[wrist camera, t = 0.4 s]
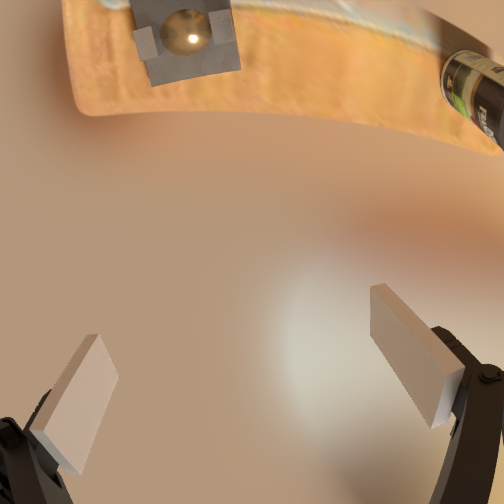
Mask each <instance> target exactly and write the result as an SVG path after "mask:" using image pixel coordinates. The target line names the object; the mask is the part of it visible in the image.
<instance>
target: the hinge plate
mask: <svg viewBox="0 0 504 504" xmlns="http://www.w3.org/2000/svg"><path fill="white" fill-rule="evenodd" d="M130 1H131V6H132V10H133V14H134V18H135V23H136V27H137V30H134V31H133V35H134V39H135V43H136V47H137V51H138V55H139V59H140V61H144V60H145V63H146V67H147V71H148V74H149V78H150V82H151V86H152V87H155V86H159V85H163V84H167V83H171V82H176V81H180V80H185V79H190V78H195V77H200V76H206V75H212V74H217V73H224V72H230V71H237V70H241V64H240V58H239V52H238V46H237V40H236V33H235V27H234V21H233V15H232V9H231V3H230V0H130Z"/></svg>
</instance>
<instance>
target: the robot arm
mask: <svg viewBox="0 0 504 504" xmlns="http://www.w3.org/2000/svg"><path fill="white" fill-rule="evenodd" d="M370 303H371V320H370V335H371V337H372V338H373V340H374V341H375V343H376V344H377V346H378V347H379V349H380V350H381V352H382V353H383V355H384V356H385V358H386V359H387V361H388V363H389V364H390V366H391V367H392V368H393V370H394V372H395V373H396V375H397V376H398V378H399V379H400V381H401V383H402V384H403V386H404V387H405V389H406V390H407V392H408V393H409V395H410V397H411V398H412V400H413V401H414V403H415V405H416V406H417V408H418V409H419V411H420V413H421V414H422V416H423V417H424V419H425V420H426V422H427V424H428V426H429V427H430V429H433V428H435V427H437V426H439V425H442V424H444V423H446V422H448V420H449V417H450V414H451V412H453V413H454V415H455V417H456V421H455V424H454V426H453V428H452V431H451V433H450V435H451V439H450V443H449V446H448V450H447V453H446V457H445V460H444V463H443V466H442V469H441V472H440V476H439V478H438V481H437V484H436V487H435V489H434V492H433V495H432V497H431V500H430V502H429V504H487V503H488V500H489V496H490V492H491V487H492V483H493V478H494V474H495V468H496V463H497V457H498V451H499V444H500V436H501V429H502V436H503V444H504V371H502V370H501V369H500V368H499V367H497V366H495V365H492V364H481V363H480V362H479V361H478V360H477V359H476V358H475V357H474V356H473V355H472V354H471V353H470V351H469V350H468V349H467V348H466V347H465V346H464V345H462V343H461V342H460V341H459V340H458V339H457V340H456V337H455V336H454V335H452V333H450V331H448V330H446V329H444V328H442V327H440V326H437V327H434V328H431V329H430V328H429V327H428V326H427V325H426V324H425V323H424V322H423V321H422V320H421V319H420V318H419V317H418V316H417V315H416V314H415V313H414V312H413V311H412V310H411V309H410V308H409V307H408V306H407V305H406V304H405V303H404V302H403V301H402V300H401V299H400V298H399V297H398V296H397V295H396V294H395V293H394V292H393V291H392V290H391V289H390V288H389V287H388V286H387V285H386V284H385V283H384V284H379V285H375V286H371V287H370ZM118 379H119V375H118V373H117V371H116V369H115V367H114V365H113V363H112V361H111V359H110V357H109V354H108V352H107V350H106V348H105V346H104V343H103V341H102V339H101V337H100V334H92V335H87V336H86V337H85V339H84V340H83V342H82V343H81V345H80V346H79V348H78V349H77V351H76V352H75V354H74V355H73V357H72V358H71V360H70V361H69V363H68V365H67V366H66V368H65V369H64V371H63V373H62V374H61V376H60V377H59V379H58V380H57V382H56V384H55V385H54V387H53V389H50V390H49V391H48V392H47V393H46V394H45V395H44V396H43V397H42V399H41V401H40V402H39V405H38V406H37V407H36V409H35V412H33V414H32V415H31V417H30V419H29V421H28V422H27V424H26V426H25V428H24V429H23V431H22V429H21V428H20V427H19V426H18V424H17V423H16V422H15V420H14V419H13V418H11V417H4V418H1V419H0V504H73V502H72V500H71V498H70V495H69V493H68V491H67V489H66V486H65V484H64V482H63V479H62V477H61V475H60V474H59V472H58V471H57V468H58V466H59V465H60V466H61V467H62V469H63V470H64V471H65V472H66V473H69V474H75V475H82V472H83V469H84V466H85V463H86V460H87V458H88V455H89V452H90V449H91V447H92V444H93V441H94V438H95V436H96V433H97V430H98V428H99V425H100V423H101V420H102V418H103V415H104V412H105V410H106V407H107V405H108V403H109V400H110V398H111V395H112V393H113V390H114V388H115V386H116V383H117V381H118Z"/></svg>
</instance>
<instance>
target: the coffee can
mask: <svg viewBox="0 0 504 504" xmlns="http://www.w3.org/2000/svg"><path fill="white" fill-rule="evenodd" d="M440 81H441V90H442V93H443V96H444V98H445V100H446V101H447V103H448V104H449V105H450V106H451V107H452V108H454V109H455V110H457V111H458V112H460V113H461V114H462V115H463V116H465V117H466V118H467V119H469V120H470V121H471V122H472V123H473V124H475V125H476V126H477V127H478V128H479V129H481V130H482V131H483V132H484V133H485V134H486V135H487V136H489V137H490V138H491V139H492V140H493V141H494V142H495V143H496V144H497V145H499V146H500V147H501V148H502V149H503V151H504V66H502V65H500V64H498V63H496V62H494V61H492V60H490V59H488V58H486V57H484V56H482V55H480V54H478V53H476V52H474V51H471V50H461V51H458V52H456V53H454V54H453V55H451V56H450V57H449V59H448V60H447V61H446V63H445V64H444V66H443V69H442V73H441V79H440Z"/></svg>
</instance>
